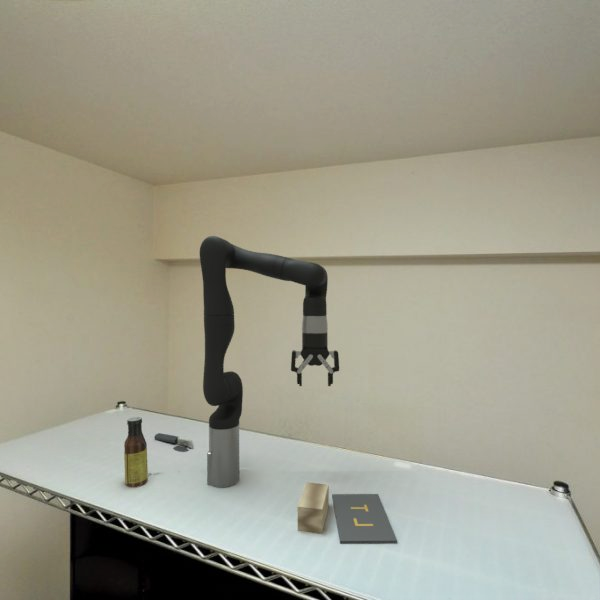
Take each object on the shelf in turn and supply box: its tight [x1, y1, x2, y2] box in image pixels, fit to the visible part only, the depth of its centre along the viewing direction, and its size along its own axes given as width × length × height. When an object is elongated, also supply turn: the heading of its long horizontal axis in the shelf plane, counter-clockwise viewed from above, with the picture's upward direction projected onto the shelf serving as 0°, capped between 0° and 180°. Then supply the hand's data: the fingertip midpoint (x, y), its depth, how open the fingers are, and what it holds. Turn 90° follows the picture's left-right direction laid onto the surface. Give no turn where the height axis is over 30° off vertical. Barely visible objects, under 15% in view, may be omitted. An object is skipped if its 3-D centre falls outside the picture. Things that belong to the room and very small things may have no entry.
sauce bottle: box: [123, 416, 149, 488], centre depth 109 cm, size 7×6×20 cm
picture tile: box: [331, 493, 398, 545], centre depth 92 cm, size 13×20×1 cm, turn 0°
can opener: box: [154, 432, 195, 453], centre depth 135 cm, size 19×6×5 cm, turn 60°
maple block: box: [297, 481, 330, 535], centre depth 92 cm, size 6×12×6 cm, turn 168°
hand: (315, 385), depth 107 cm, fingers open, 8 cm apart
